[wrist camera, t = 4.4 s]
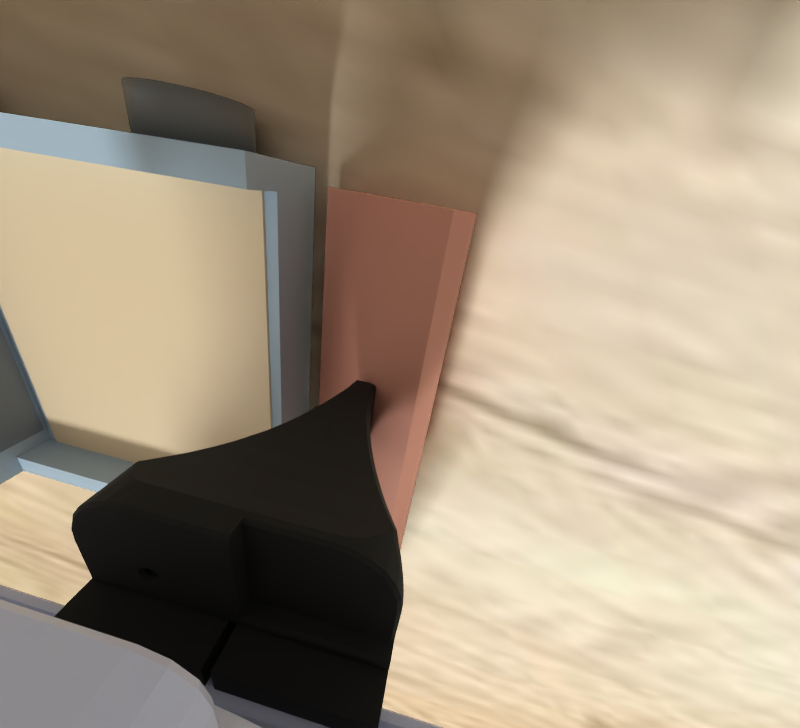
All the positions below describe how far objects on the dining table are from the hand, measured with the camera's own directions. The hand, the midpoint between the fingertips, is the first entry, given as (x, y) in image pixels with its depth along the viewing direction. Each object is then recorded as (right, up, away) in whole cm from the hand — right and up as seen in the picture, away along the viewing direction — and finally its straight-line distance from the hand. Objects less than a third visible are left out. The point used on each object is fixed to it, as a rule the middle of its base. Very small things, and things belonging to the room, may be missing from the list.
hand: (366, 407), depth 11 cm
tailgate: (-1, +2, +3) cm, 4 cm away
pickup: (-11, +4, +4) cm, 12 cm away
